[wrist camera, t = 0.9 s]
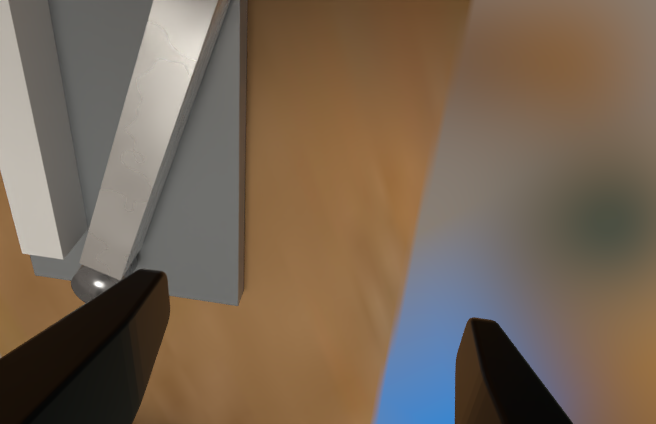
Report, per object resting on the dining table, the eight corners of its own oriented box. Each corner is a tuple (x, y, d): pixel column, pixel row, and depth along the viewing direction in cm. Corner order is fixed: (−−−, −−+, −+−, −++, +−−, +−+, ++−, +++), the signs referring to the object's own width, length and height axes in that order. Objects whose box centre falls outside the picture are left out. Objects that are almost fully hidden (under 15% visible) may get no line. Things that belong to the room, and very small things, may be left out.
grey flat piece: (243, 290, 26) (225, 340, 23) (47, 260, 26) (8, 306, 24) (249, -125, 17) (221, -116, 14) (-52, -160, 17) (-130, -158, 15)
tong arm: (131, 280, 24) (111, 313, 23) (90, 263, 24) (67, 295, 22) (247, -37, 17) (230, -22, 15) (189, -68, 16) (164, -55, 15)
